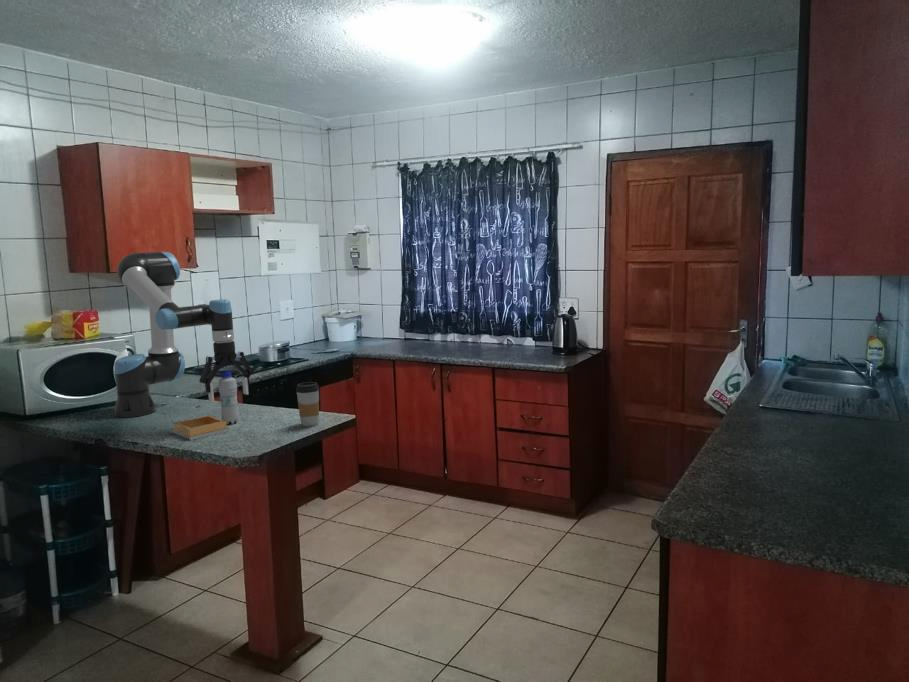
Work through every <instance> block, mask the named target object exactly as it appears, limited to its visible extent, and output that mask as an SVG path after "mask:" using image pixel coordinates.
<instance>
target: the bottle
mask: <svg viewBox="0 0 909 682" xmlns="http://www.w3.org/2000/svg"><path fill="white" fill-rule="evenodd" d="M221 377H222V378H219V380H218V393H219V396H220V397H219V398H220V407H221V409H220V410H221V411H220V412H221V413H220V414H221V419H222V420H224V421H226V425H229V424H230V423H231V425H233V424H234V423H235V424H237V423H238V422H239V420H240V411H239V406H238V396H237V395H238V394H237V393H238V384H237V380H236V378H235V377H232V371H230V370H224V371H222V372H221Z"/></svg>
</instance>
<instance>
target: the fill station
mask: <svg viewBox="0 0 909 682" xmlns="http://www.w3.org/2000/svg"><path fill="white" fill-rule="evenodd" d="M227 425H228V424H226V421H224V420H222V418H218V417H216V416H213V415H204V416H199V417H195V418H191V419H185V420H181V421H176V422H173V429H172V433H173V434H175V435H177V436H180V437H182V438H184V439H186V438H187V439H186V440H188V439H189V441H193V439H195V440H197V439H198V438H199V439H201V438H202V437H203V438H206V436H207V437H212V436H215V434H216V435H219V434H220V435H221V434H223V433H228V432H229V430H230V429H229V427H227Z"/></svg>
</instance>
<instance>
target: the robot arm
mask: <svg viewBox="0 0 909 682" xmlns="http://www.w3.org/2000/svg"><path fill="white" fill-rule="evenodd" d="M116 270H117V271H116V273H117V277H118V280H119V281H120V282H121V284H122V285H123V286H124V287H125V288H128V289H131V290H132V291H133V292H134V293H135V294H136V295H137V296H138V298H140V299H141V301H142V302H143V303H145V304H146V305H147V307H148V309H149V324H150V326H149V327H150V341H151V347H150V348H149V349H148V350H147V353H148V354H147V355H148V356H146V355H145V354H144V353H136V354H135V353H134V354H130V355H127V356H126V355H125V356H122V357H120V358H118V359H117V360H115V362H114V371H113V372H114V376H115V384H116V394H117V398H116V401H115V406H114V409H113V410H114V417H117V418H135V417H142V416H145V415H146V416H147V415H149V414H153V413H154V412H156V411H157V408H156V403H155V402H154V400H153V397H152V395H151V393H150V388H149V385H155V384H161V383H165V382H173V381H176V380H178V379H180V378H181V377H182V376H183V375H184V372H185V370H186V361H185V357H184V354H182V352H180V351H179V348H178V347H177V346H175V338H174V330H177V329H183V328H190V327H198V326H207V325H209V326H211V334H212V335H211V336H212V337H211V338H212V341H213V344H212V345H213V346H212V347H213V353H214V355H213V356H206V357H205V364H204V366H203V369H202V371H201V374H200V377H199V381H198V382H199V383H201V384H204V388H205V392H206V393H207V395H208V401H210V402H215V396H214V395H215V393H214V387H213V386H214V385H213V383H212V381H213V380H214V377H216V375H217V373H219V370H220V369H221V368H224V367H231V366H232V367H234V368H235V369H236V370H237V371H238V372H239V373H240V374H241V375H242V376H241V381H242V382H241V384H242V393H243V395H247V396H248V395H249V385H250V384H251V383H250V378H251V376H252V375H254V370H253V369H252V367H251V366H250V364H249V362H248V361H247V359H246V357H245V353H244V352H243V351H238V352H236V343H235V333H234V322H233V308H232V306H231V305H232V304H231V303H232V302H231V301H230V299H211V300H210V301H209V304H206V303H202V304H197V305H189V306H181V307H180V306H178V305H177V304H175V302H174V301H173V300H172V289H173V288H174V287H175V285H176V284H175V281H176V280H178V279H179V278H180V275H181V267H180V264H179V261H178V259H177V258H176V256H175V255H174V254H173V253H171V252H168V251H152V252H132V253H130V254H127V255H125V256H124V257H122V258H121V260H120V261H119V262H118V265H117V268H116ZM237 358H238V359H239V361H240V363H241V365H242V366H243V367H244V368H243V367H242V366H241V365H240V364H239V363H238V361H236V359H237ZM214 362H215V363H214ZM213 363H214V364H213ZM212 365H213V367H212ZM211 367H212V368H211Z"/></svg>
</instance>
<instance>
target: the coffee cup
mask: <svg viewBox="0 0 909 682" xmlns="http://www.w3.org/2000/svg"><path fill="white" fill-rule="evenodd" d="M319 387H320V386H319V384H318V382H314V381H313V382H312V381H308V382H301V383H298V384H297V385H296V388H295V391H296V395H297V396H296V397H297V406H298V414H299V418H300V423H301V425H302V426H303V427H313V426H317V425H318V424H319V422H320V421H319V420H320V416H319V415H320V394H319V393H320V392H319V391H320V388H319Z"/></svg>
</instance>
